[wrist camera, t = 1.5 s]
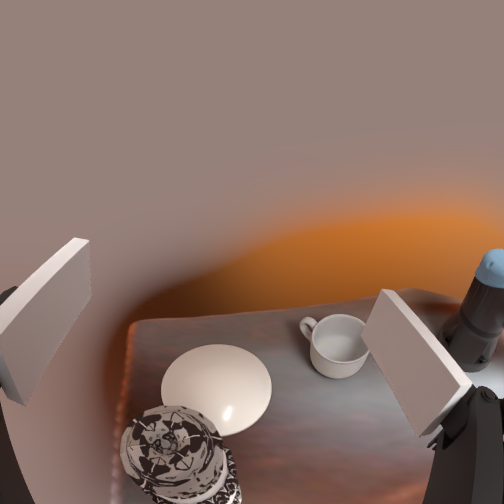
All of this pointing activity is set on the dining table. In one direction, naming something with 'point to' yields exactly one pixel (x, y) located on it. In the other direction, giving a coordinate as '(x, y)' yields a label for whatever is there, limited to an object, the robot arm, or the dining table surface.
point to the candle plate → (219, 386)
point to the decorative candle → (179, 458)
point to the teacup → (336, 344)
